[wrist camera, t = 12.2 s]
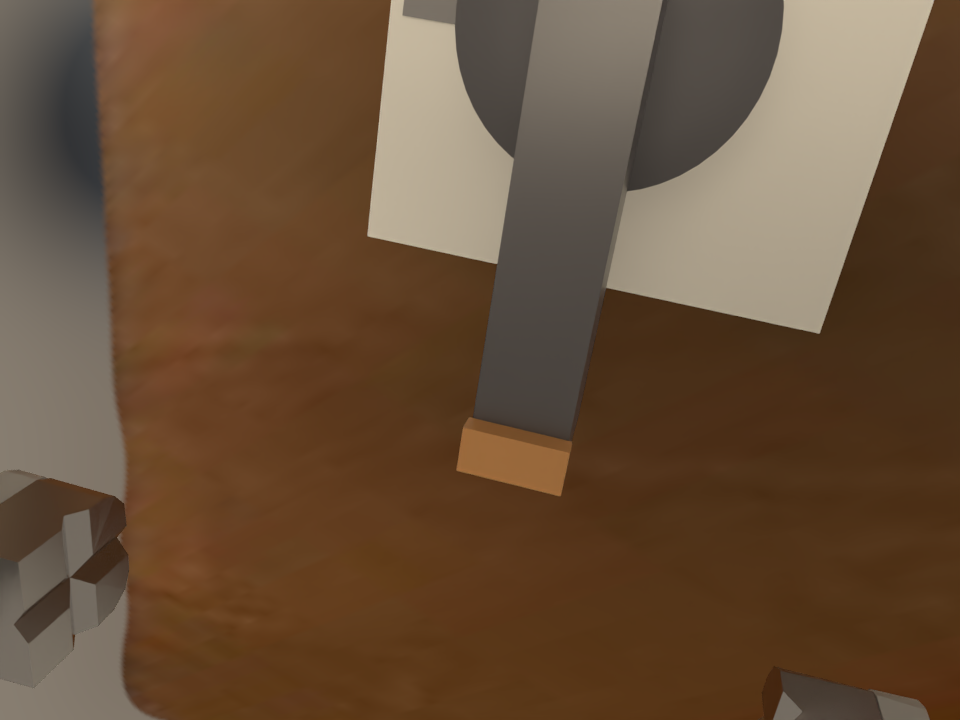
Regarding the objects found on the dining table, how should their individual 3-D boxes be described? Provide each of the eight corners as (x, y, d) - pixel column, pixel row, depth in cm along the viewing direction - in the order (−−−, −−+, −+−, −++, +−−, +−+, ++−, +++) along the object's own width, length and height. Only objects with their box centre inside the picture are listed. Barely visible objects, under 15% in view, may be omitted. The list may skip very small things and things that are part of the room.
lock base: (1000, -229, 27) (1205, -409, 16) (814, 322, 35) (872, 439, 24) (434, -290, 30) (302, -474, 19) (378, 229, 38) (263, 297, 27)
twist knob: (496, -158, 21) (418, -250, 14) (815, -120, 19) (879, -202, 13) (429, 355, 26) (352, 448, 20) (673, 410, 25) (672, 528, 19)
